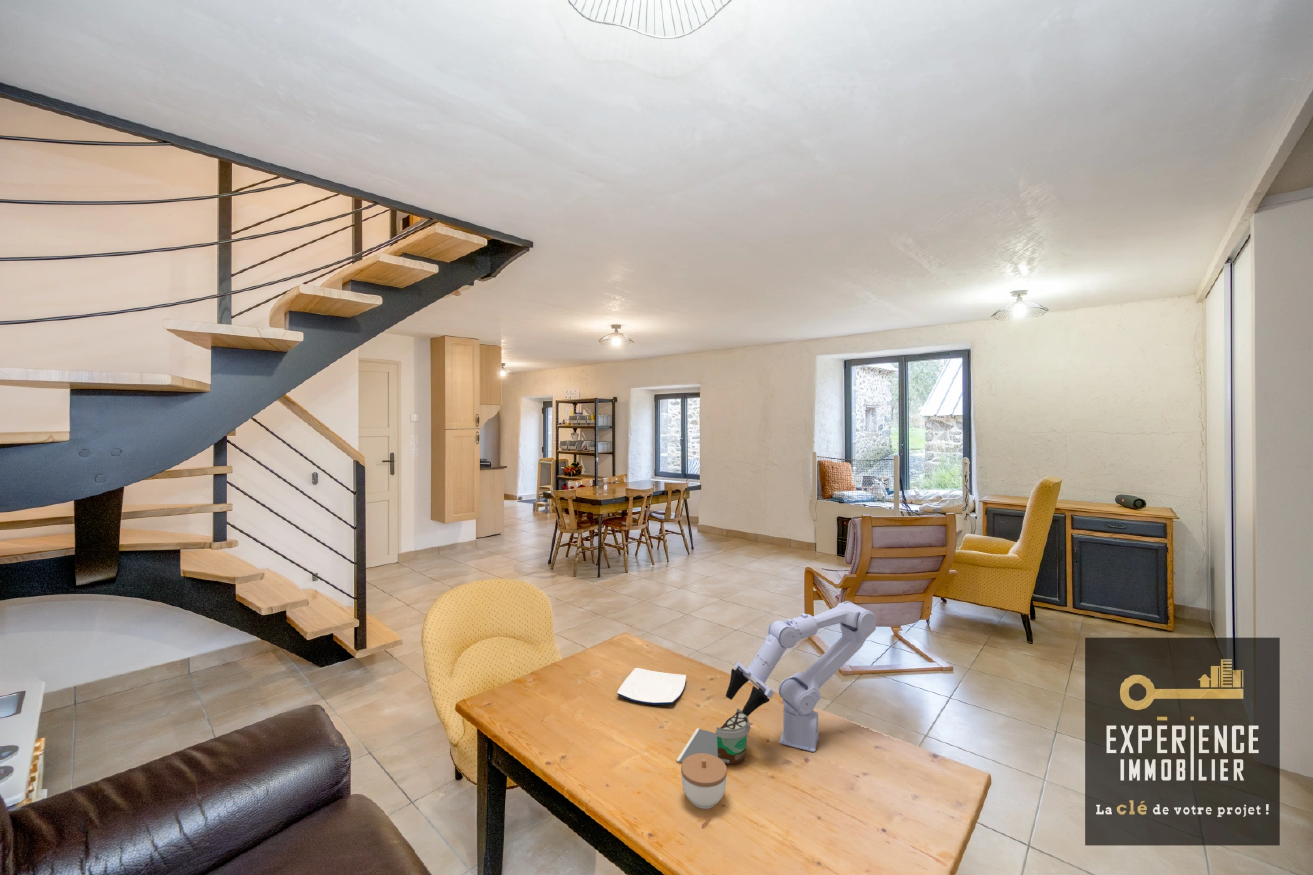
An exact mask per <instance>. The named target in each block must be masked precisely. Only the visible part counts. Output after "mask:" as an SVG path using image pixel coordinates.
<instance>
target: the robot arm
mask: <svg viewBox="0 0 1313 875" xmlns="http://www.w3.org/2000/svg"><path fill="white" fill-rule="evenodd" d="M833 625H839V626H840V631H841V637H840V638H839V639H837V640H836V642H835V643H833V644H832V645H831V646H830V647H829V648H828V649H827V650H826V651H824V653H822V655H821V656H820V657H818V659H817V660H816V661H814V663H812V664H811V666H809V667H808V668H807V669H806V670H805V671H804V672H795V673H793V674H792V675H791V676H789V677H785V678H784V679H783V680H782V681H781V682H780V683H779V685H778V694H779V697H780V698H781V699H782V704H783V707H782V708H783V718H782V719H783V720H782V721H783V722H782V724H783V725H782V733H781V736H780V740H779V744H781V745H784V746H788V747H792V748H796V749H800V750H805V751H807V752H812V753H815V752H816V749H817V744H818V741H819V738H820V737H819V713H818V712H817V711H815V710H814V709H815V708H816V705H817V703H819V701H820V700H822V698H821V697H822V696H821V691H820V690H821V689H820V688H822V686H824V685H825V684H826V683H827V682H828V681H829V680H830V679H831V678H832V677H833V676H834V675H836V673H837V672H838V671H839V670H840V669H841V668H842V667H843V666H844V665H845V664H846V663H847V662H848V661H849V660H850V659H851V658H852V657H853V656H854V655H855V654H857V652H859V650H860V649H861V648H862V647H863V646H864V644H865V642H866V640H867V639H869V637H870V636H871V635H872V634H873V633H874V632H875V631H876V628H877V617H876V614H875V613H874V612H873V611H871V610H869V609H866V608H864V607H862V606H859V605H858V604H855V603H853V602H852V601H850V600H845V601H843V602H838V604H837V605H836V606H835V607H833V608H830V609H828V610H825V611H823V612H821V613H819V614H815V615H811V614H809V613H807V614H806V613H805V612H803V613H801V614H800V616H796V617H794V618H788V619H786V620H785V621H783V620H776V621H774V622H772V623H770V624H769V625H768V628H767V634H766V637H765V638H764V639H765V640H764V641H763V643H762V645H761V646H760V648H759V649H758V651H757V652H756V654H755V655H754V657H753V659H751V662H750V663H749V665H748V666H747V667H746V666H745V665H743V663H741V662H739V661H737V662H736V663H735V665H734V666H733V668H732V669H731V670H730V671H731V672H730V680H729V684H728V686H727V690H726V694H725V697H726V698H727V699H729V700H731V701H732V700H733V699H734V698H735V697H736V695H737V694H738V692H739V691H740V690H741V688H742V687H743V686H744V685H745V684H747V683H748V682H749V681H750V682H751V683H752V685H753V686H752V688H751V691H750V694H749V698H748V699H747V701H746V703H745V704H744V707H743V708H742V709H741V710H742V713H743V714H745V715H746V716H748V717H749V716H750V715H751V714H752V713H753V712H754V711H755V710H756V709H758V708H759V707H760V706H762V705H764V704H766V703H768V702H770V699H772V697H773V696H774V695H775V691H774V690H773V689H772V688H771V687H769V686H768V685H767V684H766V682H767V681H768V678H769V677H770V676H771V674H772V672H773V671H774V669H775V668H776V666H777V665H778V663H779V661H780V660H781V658H782V657H783V655H784V654H785V652H786V651H787V649H790V648H791V649H792V648H794V647H795V646H796V645H797V643H798V642H800V641H801V640H803V639H807V638H810V637H812V636H815V635H816V634H817V633H818V631H819V629H822V628H827V627H830V626H833ZM752 679H753V680H752Z"/></svg>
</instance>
